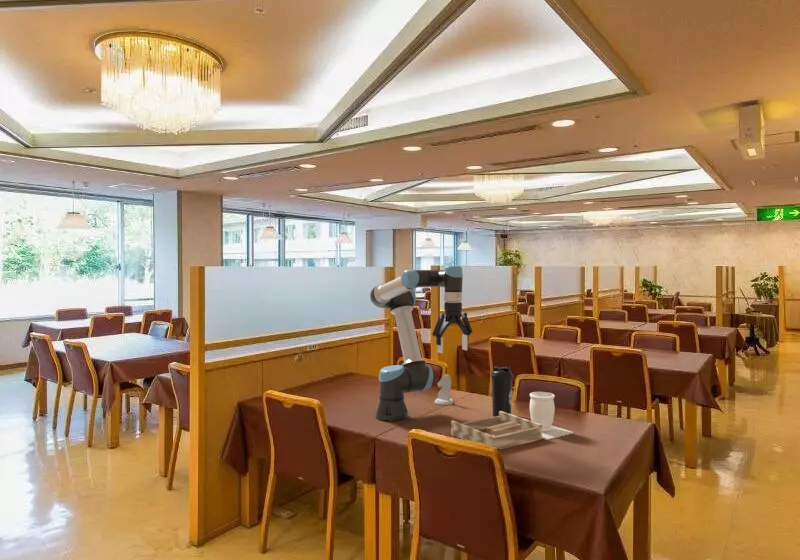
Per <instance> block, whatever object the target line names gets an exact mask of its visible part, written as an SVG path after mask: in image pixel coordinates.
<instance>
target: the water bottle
mask: <svg viewBox="0 0 800 560" xmlns="http://www.w3.org/2000/svg"><path fill="white" fill-rule="evenodd" d="M490 378H491V396H492V397H491V401H492V403H491V404H492V417H495V416H499V411H503V412H506V413H509V414H512V401H513V400H512V398H513V378H514V374H513V372H512V371H511V366H502V367H498V366H497V365H495V366H494V367H493V370H492V371H491V373H490Z"/></svg>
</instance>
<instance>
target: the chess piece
mask: <svg viewBox="0 0 800 560" xmlns="http://www.w3.org/2000/svg"><path fill="white" fill-rule="evenodd" d="M437 387H438V388H440V390H439V391H438V393H437V398H436V399H435V400H434V404H435V403H436V404H435V405H437V404H438V405H439V406H451V404H452V405H454V404H453V403H454V400H453V399H452V395H451V394H450V393H451V387H452V379H451V376H450V375H449V374H447V373H446V374H443V376H442V377H441V378H440V380H439V381H438V382H437Z"/></svg>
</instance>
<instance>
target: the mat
mask: <svg viewBox="0 0 800 560" xmlns="http://www.w3.org/2000/svg"><path fill="white" fill-rule="evenodd" d="M551 427H552V430H551V431H548V432H542V439H544V440H546V441H549V440H553V439H557V438H562V437H565V435H566V436H568V435H569V434H570V435H574V433H575V432H574V431H571V430H568V429H566V428H562V427H559V426H555V425H553V424H552V425H551ZM570 435H569V436H570ZM561 436H562V437H561Z"/></svg>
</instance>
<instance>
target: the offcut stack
mask: <svg viewBox="0 0 800 560" xmlns="http://www.w3.org/2000/svg"><path fill="white" fill-rule="evenodd" d="M521 430H522V429H521V424H518V423H515V422H512V421H511V422H507V423H503V424H499V425H495V426H491V427H487V428H486V429H485V433H486V434H489V435H491V436H492V437H495V436H500V435H504V434H508V433H513V432H517V431H521Z"/></svg>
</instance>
